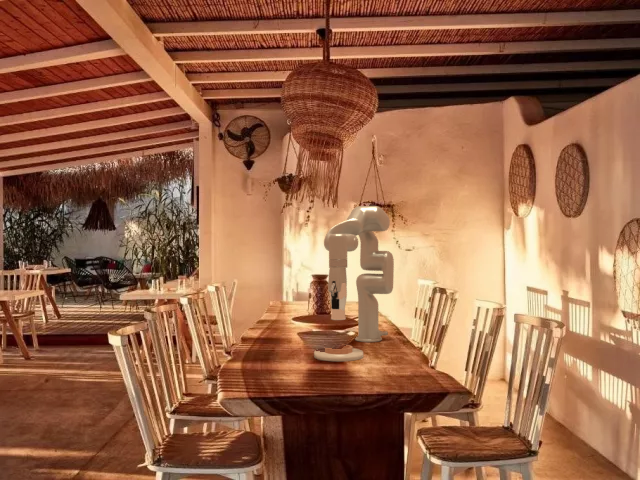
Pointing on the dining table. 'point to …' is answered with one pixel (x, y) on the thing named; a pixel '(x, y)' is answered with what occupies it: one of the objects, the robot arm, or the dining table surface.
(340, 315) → the beer glass
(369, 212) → the robot arm
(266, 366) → the dining table surface
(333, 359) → the white plate
